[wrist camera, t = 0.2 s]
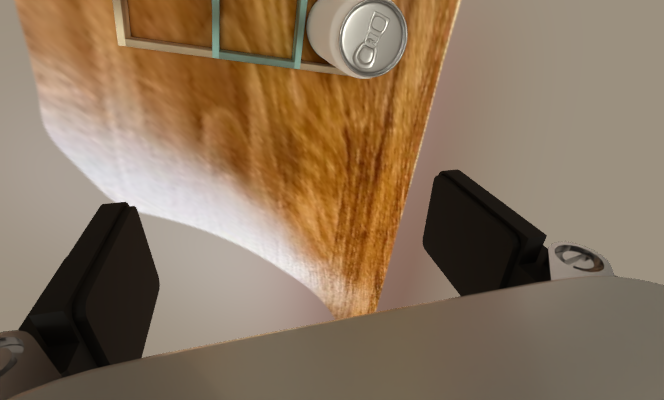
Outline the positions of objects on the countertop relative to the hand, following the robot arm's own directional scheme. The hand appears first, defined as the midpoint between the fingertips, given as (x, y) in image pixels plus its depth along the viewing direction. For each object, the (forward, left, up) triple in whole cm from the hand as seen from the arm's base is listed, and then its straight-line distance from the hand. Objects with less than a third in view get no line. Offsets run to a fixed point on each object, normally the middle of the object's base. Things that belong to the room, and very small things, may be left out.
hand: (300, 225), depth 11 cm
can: (-5, +8, -31) cm, 32 cm away
